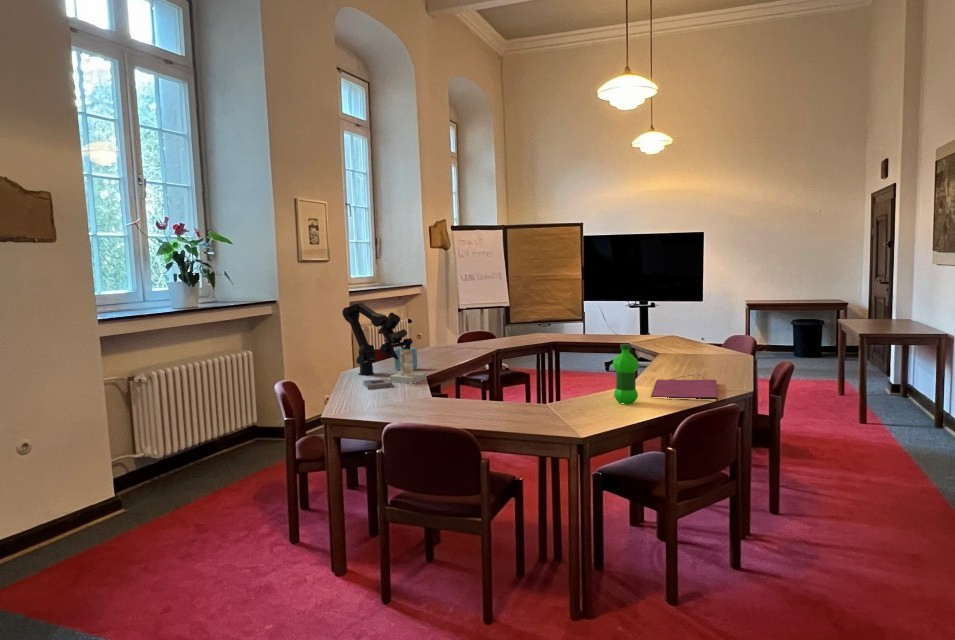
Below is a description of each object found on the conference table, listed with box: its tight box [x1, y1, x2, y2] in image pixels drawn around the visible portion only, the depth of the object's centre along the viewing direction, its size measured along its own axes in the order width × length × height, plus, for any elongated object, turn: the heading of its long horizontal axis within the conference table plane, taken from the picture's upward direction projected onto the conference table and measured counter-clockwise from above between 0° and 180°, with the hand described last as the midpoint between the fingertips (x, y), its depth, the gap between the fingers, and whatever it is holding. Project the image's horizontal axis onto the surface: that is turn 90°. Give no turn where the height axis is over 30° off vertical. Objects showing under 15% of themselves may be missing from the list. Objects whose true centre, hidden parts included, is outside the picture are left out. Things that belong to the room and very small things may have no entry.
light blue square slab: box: [394, 347, 418, 371], centre depth 370 cm, size 12×4×12 cm, turn 88°
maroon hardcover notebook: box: [650, 374, 718, 400], centre depth 300 cm, size 40×4×27 cm
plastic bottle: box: [612, 343, 640, 405], centre depth 277 cm, size 10×10×25 cm
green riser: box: [389, 372, 427, 384], centre depth 339 cm, size 14×12×3 cm
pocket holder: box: [363, 378, 393, 390], centre depth 328 cm, size 12×12×2 cm
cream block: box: [399, 349, 414, 376], centre depth 337 cm, size 4×4×13 cm
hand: (404, 357), depth 337 cm, fingers open, 9 cm apart
